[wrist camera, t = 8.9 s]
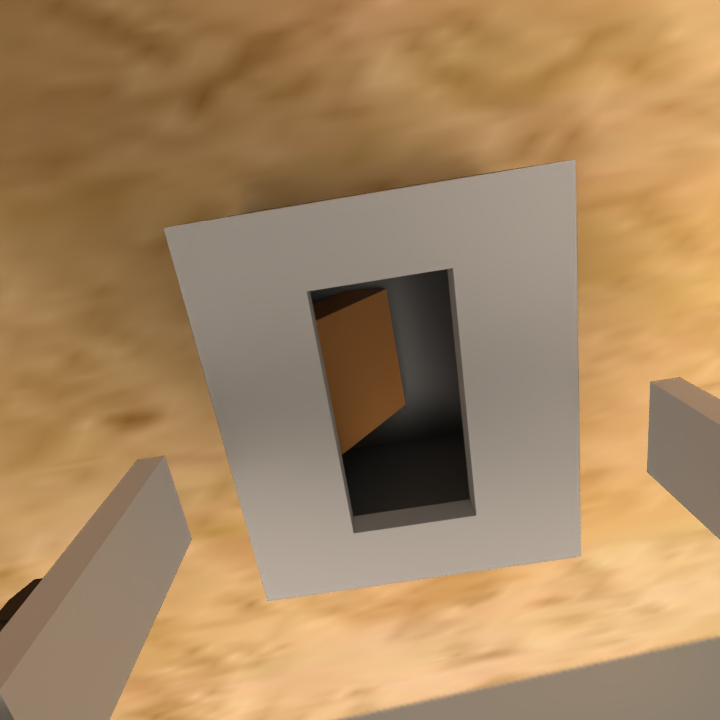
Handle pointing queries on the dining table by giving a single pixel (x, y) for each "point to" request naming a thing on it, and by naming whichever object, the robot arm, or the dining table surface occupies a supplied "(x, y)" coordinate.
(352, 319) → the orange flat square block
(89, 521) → the robot arm
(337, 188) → the dining table surface
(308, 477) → the box with rectangular hole
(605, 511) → the dining table surface
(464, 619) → the dining table surface
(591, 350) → the dining table surface
